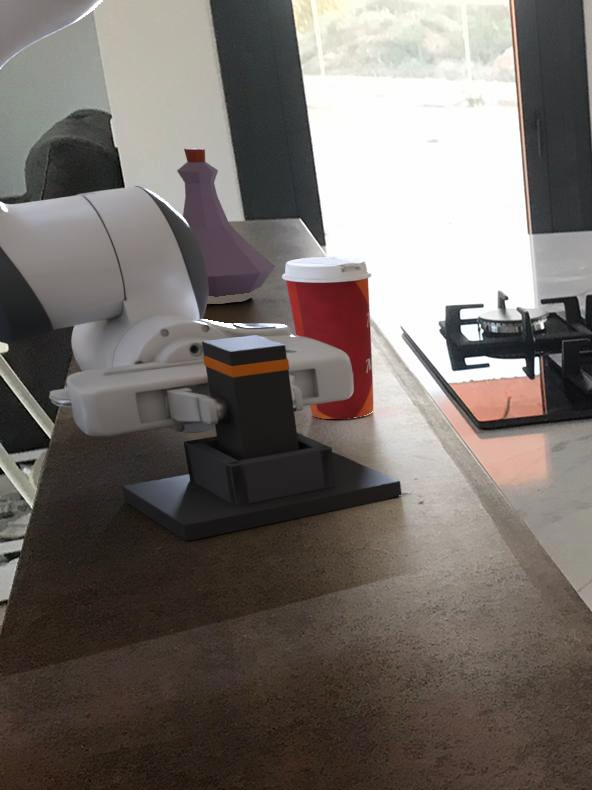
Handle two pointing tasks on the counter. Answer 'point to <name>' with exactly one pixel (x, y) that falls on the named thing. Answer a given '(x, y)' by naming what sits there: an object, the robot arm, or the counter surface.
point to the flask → (218, 233)
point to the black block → (252, 396)
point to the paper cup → (335, 321)
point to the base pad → (256, 489)
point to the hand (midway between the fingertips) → (257, 406)
